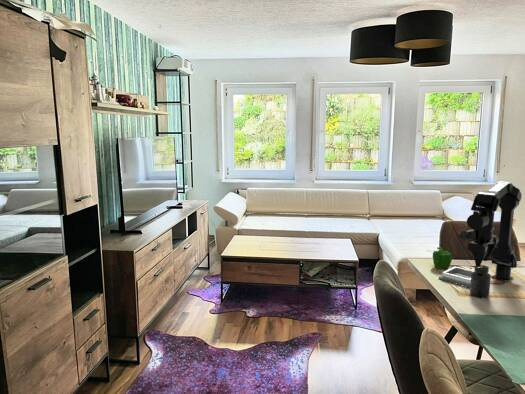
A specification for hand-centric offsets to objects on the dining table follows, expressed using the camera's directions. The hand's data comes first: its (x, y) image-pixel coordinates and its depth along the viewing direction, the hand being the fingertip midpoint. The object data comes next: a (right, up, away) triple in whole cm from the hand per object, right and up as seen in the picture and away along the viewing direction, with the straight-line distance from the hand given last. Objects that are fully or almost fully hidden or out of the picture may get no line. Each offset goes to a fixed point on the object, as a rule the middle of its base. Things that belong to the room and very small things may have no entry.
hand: (481, 263), depth 157 cm
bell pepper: (-1, -8, +34) cm, 35 cm away
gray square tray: (+2, -10, +19) cm, 21 cm away
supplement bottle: (0, -13, +2) cm, 13 cm away
